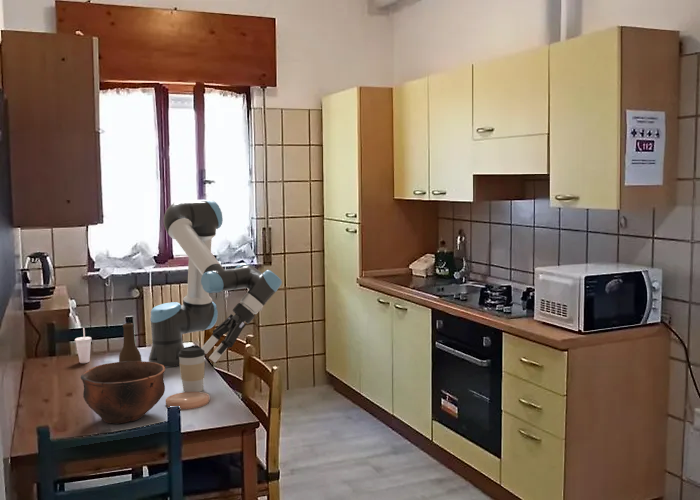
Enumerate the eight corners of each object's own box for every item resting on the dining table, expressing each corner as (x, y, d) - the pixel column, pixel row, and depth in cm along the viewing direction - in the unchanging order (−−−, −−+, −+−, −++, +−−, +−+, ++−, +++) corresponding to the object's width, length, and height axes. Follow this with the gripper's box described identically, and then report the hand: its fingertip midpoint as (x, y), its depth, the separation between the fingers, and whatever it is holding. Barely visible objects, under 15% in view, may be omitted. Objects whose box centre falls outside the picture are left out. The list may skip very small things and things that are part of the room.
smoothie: (89, 363, 294) (87, 329, 292) (73, 364, 294) (71, 329, 292) (95, 359, 300) (93, 326, 299) (79, 360, 300) (77, 326, 299)
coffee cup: (200, 394, 249) (198, 351, 248) (175, 393, 251) (173, 350, 250) (210, 386, 258) (208, 344, 257) (186, 385, 260) (184, 344, 258)
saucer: (167, 397, 247) (167, 393, 246) (210, 394, 249) (210, 390, 249) (163, 410, 233) (163, 406, 233) (208, 407, 235) (208, 403, 235)
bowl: (160, 429, 216) (157, 379, 214) (73, 434, 214) (70, 383, 212) (173, 403, 240) (171, 358, 239) (96, 407, 239) (93, 361, 237)
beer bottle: (136, 387, 260) (132, 320, 257) (147, 391, 254) (144, 323, 252) (116, 392, 255) (112, 323, 252) (127, 396, 249) (122, 326, 246)
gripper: (265, 321, 248) (224, 370, 244) (245, 309, 271) (207, 354, 267) (249, 307, 246) (207, 357, 241) (230, 296, 269) (192, 342, 264)
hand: (207, 356), depth 254 cm, fingers open, 13 cm apart
